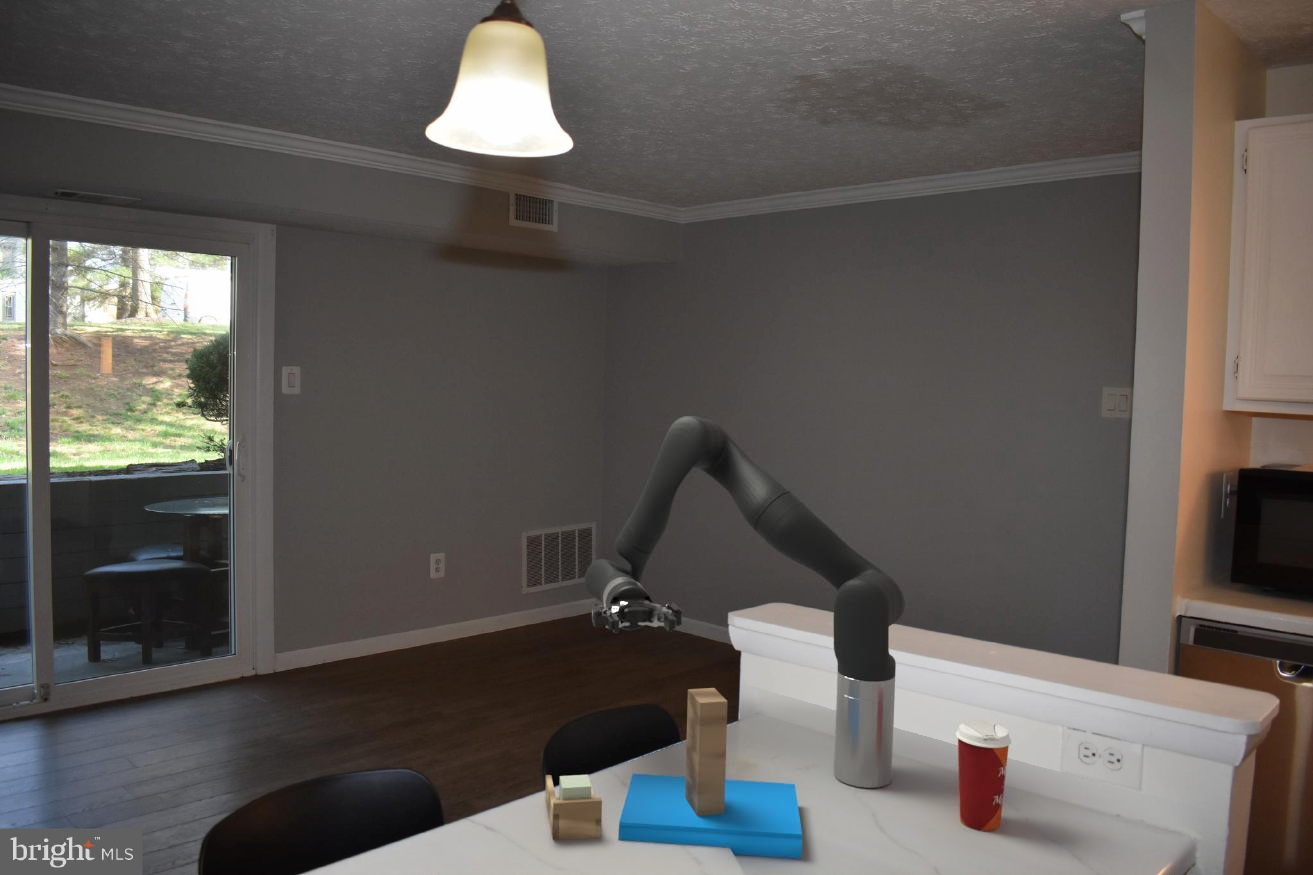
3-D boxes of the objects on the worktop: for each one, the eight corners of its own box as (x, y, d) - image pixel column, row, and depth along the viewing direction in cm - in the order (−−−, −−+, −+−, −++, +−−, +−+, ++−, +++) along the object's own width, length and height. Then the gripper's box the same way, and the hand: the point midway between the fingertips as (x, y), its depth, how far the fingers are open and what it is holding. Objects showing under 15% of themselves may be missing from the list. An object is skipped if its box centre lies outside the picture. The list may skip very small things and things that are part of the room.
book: (631, 773, 142) (794, 780, 140) (631, 800, 142) (794, 808, 140) (618, 824, 125) (803, 833, 123) (617, 855, 125) (803, 864, 123)
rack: (545, 804, 138) (546, 765, 138) (589, 801, 139) (589, 762, 139) (552, 846, 125) (553, 803, 125) (600, 843, 126) (601, 800, 126)
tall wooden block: (685, 797, 134) (687, 689, 133) (711, 795, 135) (714, 687, 134) (696, 816, 128) (700, 702, 128) (724, 813, 129) (727, 701, 129)
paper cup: (1015, 835, 132) (1019, 739, 131) (961, 833, 132) (965, 737, 131) (996, 811, 140) (1000, 720, 139) (945, 809, 140) (949, 718, 139)
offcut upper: (559, 796, 130) (559, 776, 130) (587, 795, 131) (587, 774, 131) (561, 809, 126) (562, 788, 126) (590, 807, 127) (591, 786, 127)
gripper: (586, 581, 157) (599, 602, 141) (667, 580, 159) (689, 600, 144) (585, 625, 157) (597, 651, 141) (666, 623, 160) (688, 648, 144)
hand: (644, 625), depth 142 cm, fingers open, 8 cm apart
